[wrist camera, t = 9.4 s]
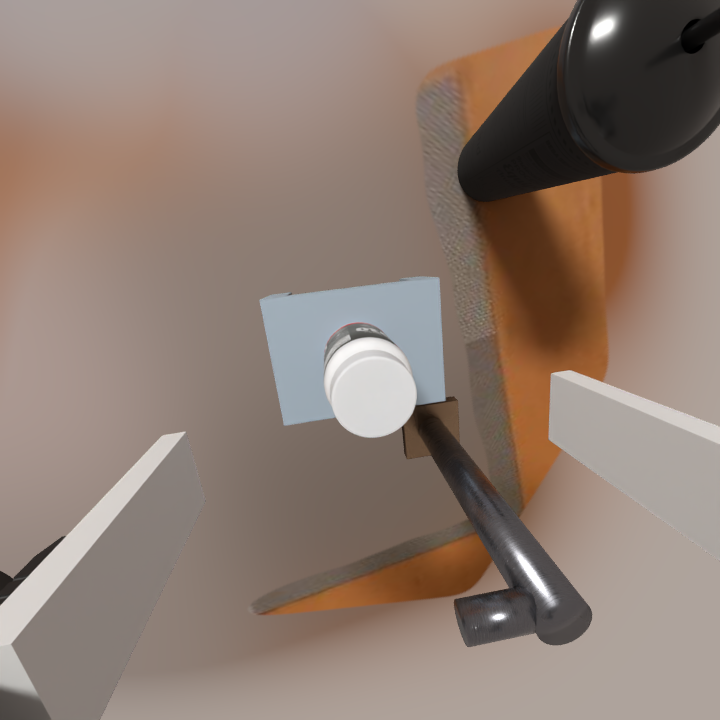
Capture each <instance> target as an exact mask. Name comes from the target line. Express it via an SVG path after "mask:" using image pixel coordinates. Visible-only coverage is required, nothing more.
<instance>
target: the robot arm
mask: <svg viewBox="0 0 720 720" xmlns="http://www.w3.org/2000/svg"><path fill="white" fill-rule="evenodd" d="M549 440H550V441H551V442H553V443H554V444H556V445H557V446H558V447H560V448H561V449H563V450H564V451H565V452H567V453H568V454H570V455H571V456H572V457H574V458H575V459H577V460H578V461H579V462H581V463H582V464H584V465H585V466H586V467H588V468H589V469H591V470H592V471H593V472H595V473H596V474H598V475H599V476H601V477H602V478H603V479H605V480H606V481H608V482H609V483H611V484H612V485H613V486H615V487H616V488H617V489H619V490H620V491H622V492H623V493H625V494H626V495H627V496H629V497H630V498H631V499H633V500H634V501H636V502H637V503H639V504H640V505H641V506H643V507H644V508H646V509H647V510H648V511H650V512H651V513H653V514H654V515H655V516H657V517H658V518H660V519H661V520H663V521H664V522H665V523H667V524H668V525H670V526H671V527H672V528H674V529H675V530H676V531H678V532H679V533H681V534H682V535H684V536H685V537H687V538H688V539H689V540H691V541H692V542H693V543H695V544H696V545H698V546H699V547H700V548H702V549H703V550H705V551H706V552H707V553H709V554H710V555H712V556H713V557H715V558H716V559H717V560H719V561H720V427H719V426H717V425H714V424H711V423H708V422H706V421H703V420H700V419H698V418H695V417H693V416H690V415H687V414H685V413H682V412H679V411H677V410H674V409H672V408H669V407H666V406H664V405H661V404H658V403H656V402H653V401H650V400H648V399H645V398H642V397H640V396H637V395H634V394H632V393H629V392H627V391H624V390H621V389H619V388H616V387H613V386H611V385H608V384H605V383H603V382H600V381H597V380H595V379H592V378H589V377H587V376H584V375H582V374H579V373H576V372H574V371H571V370H568V371H562V372H556V373H551V388H550V415H549ZM205 502H206V500H205V497H204V493H203V490H202V486H201V483H200V479H199V475H198V472H197V468H196V465H195V461H194V458H193V454H192V451H191V447H190V443H189V440H188V437H187V433H186V432H181V433H175V434H169V435H163V436H162V437H161V438H159V440H158V441H157V442H156V443H155V444H154V445H153V446H152V447H151V448H150V449H149V450H148V451H147V452H146V453H145V454H144V455H143V456H142V457H141V458H140V460H139V461H138V462H137V463H136V464H135V465H134V466H133V467H132V468H131V469H130V470H129V471H128V472H127V473H126V474H125V475H124V476H123V477H122V479H120V480H119V482H118V483H117V484H116V485H115V486H114V487H113V488H112V489H111V490H110V491H109V492H108V493H107V494H106V495H105V496H104V497H103V498H102V499H101V500H100V501H99V502H98V504H97V505H96V506H95V507H94V508H93V509H92V510H91V511H90V512H89V513H88V514H87V515H86V516H85V517H84V518H83V519H82V520H81V521H80V522H79V524H78V525H77V526H76V527H75V528H74V529H73V530H72V531H71V532H70V533H69V534H68V535H67V536H64V537H61V538H60V539H58V540H57V541H55V542H54V543H53V544H51V545H50V546H49V547H47V548H46V549H44V550H43V551H42V552H40V553H39V554H37V555H36V556H35V557H34V558H33V559H32V560H31V561H30V562H29V563H28V564H27V565H26V566H25V567H24V568H23V569H22V570H21V571H20V572H19V573H18V574H17V575H16V576H15V577H14V579H13V578H11V577H10V576H8V575H7V574H5V573H3V572H1V571H0V720H100V718H101V716H102V714H103V712H104V710H105V708H106V706H107V704H108V702H109V700H110V698H111V696H112V694H113V691H114V689H115V687H116V685H117V683H118V681H119V679H120V677H121V675H122V673H123V671H124V669H125V667H126V665H127V662H128V661H129V658H130V656H131V654H132V652H133V650H134V648H135V646H136V644H137V642H138V640H139V638H140V636H141V633H142V632H143V630H144V627H145V625H146V623H147V621H148V619H149V617H150V615H151V613H152V611H153V609H154V607H155V605H156V603H157V601H158V599H159V597H160V595H161V592H162V591H163V588H164V586H165V584H166V582H167V580H168V578H169V576H170V574H171V572H172V570H173V568H174V566H175V564H176V561H177V560H178V558H179V555H180V553H181V551H182V549H183V547H184V545H185V543H186V541H187V539H188V537H189V535H190V533H191V531H192V529H193V526H194V525H195V522H196V520H197V518H198V516H199V514H200V512H201V510H202V508H203V506H204V504H205Z"/></svg>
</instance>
